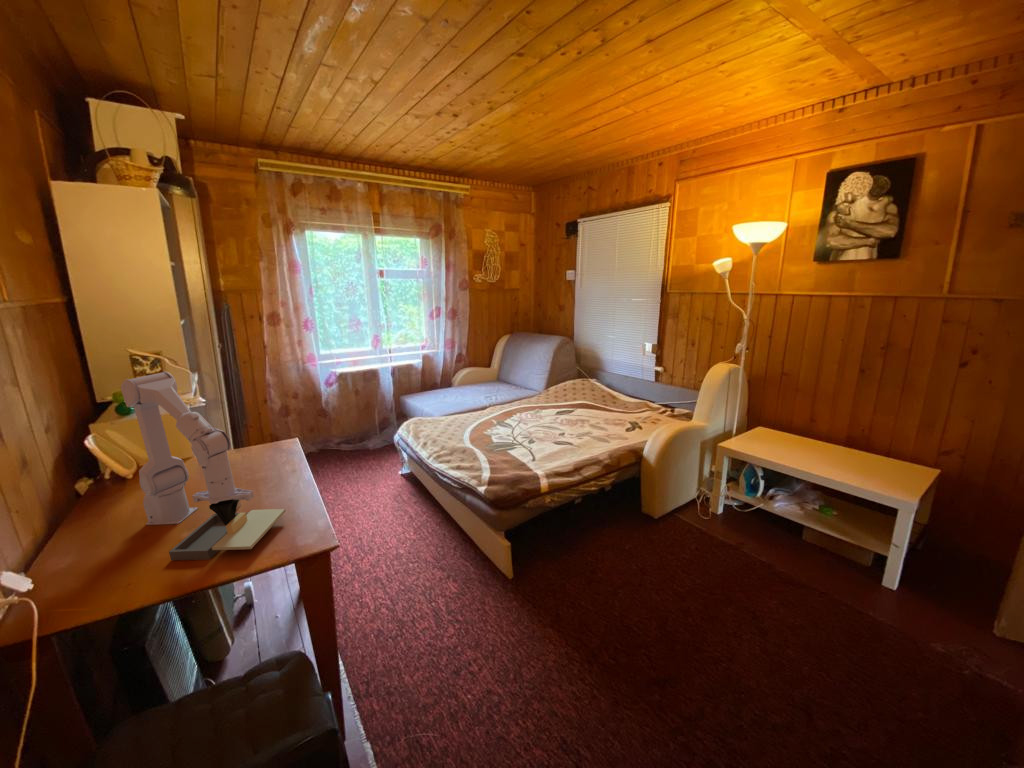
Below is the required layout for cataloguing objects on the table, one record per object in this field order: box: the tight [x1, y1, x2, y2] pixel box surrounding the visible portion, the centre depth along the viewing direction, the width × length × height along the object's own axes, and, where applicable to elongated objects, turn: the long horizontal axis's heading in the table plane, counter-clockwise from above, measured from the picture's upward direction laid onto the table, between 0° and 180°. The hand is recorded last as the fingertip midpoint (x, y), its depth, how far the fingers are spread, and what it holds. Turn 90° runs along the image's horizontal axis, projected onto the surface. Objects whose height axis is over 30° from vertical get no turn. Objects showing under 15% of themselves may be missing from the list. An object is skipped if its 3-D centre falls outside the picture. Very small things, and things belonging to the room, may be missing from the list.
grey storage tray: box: [168, 512, 249, 561], centre depth 112 cm, size 10×17×2 cm, turn 0°
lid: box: [212, 508, 287, 551], centre depth 111 cm, size 10×17×3 cm, turn 0°
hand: (230, 524), depth 111 cm, fingers closed
